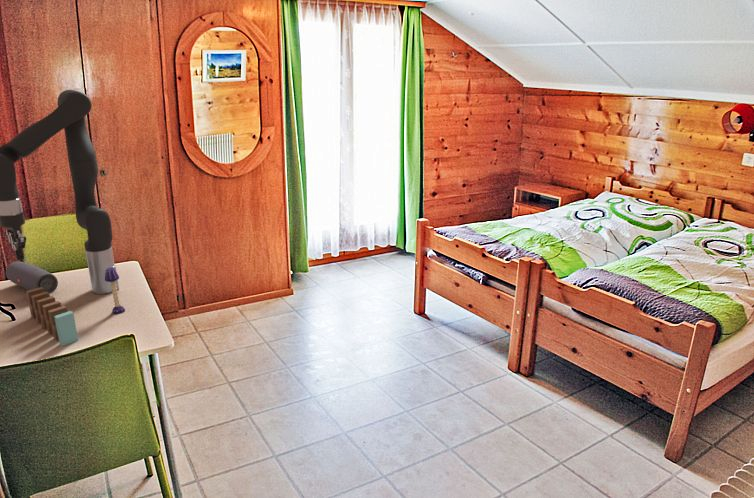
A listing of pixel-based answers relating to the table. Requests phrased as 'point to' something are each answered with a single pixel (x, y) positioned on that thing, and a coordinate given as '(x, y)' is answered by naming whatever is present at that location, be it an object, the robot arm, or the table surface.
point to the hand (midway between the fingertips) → (20, 259)
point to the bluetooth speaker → (31, 277)
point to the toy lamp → (114, 289)
